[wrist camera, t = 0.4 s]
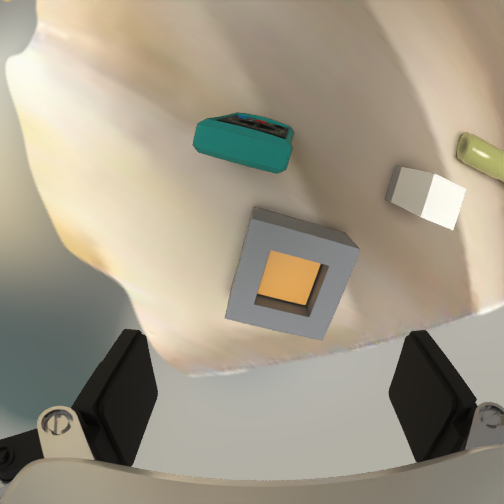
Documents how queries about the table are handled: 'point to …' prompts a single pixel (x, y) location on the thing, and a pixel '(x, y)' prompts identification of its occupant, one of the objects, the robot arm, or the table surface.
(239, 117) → the digital multimeter
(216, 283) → the table surface
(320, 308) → the socket
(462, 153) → the cannon
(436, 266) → the table surface
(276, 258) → the orange square tile
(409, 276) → the table surface
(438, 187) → the plug
